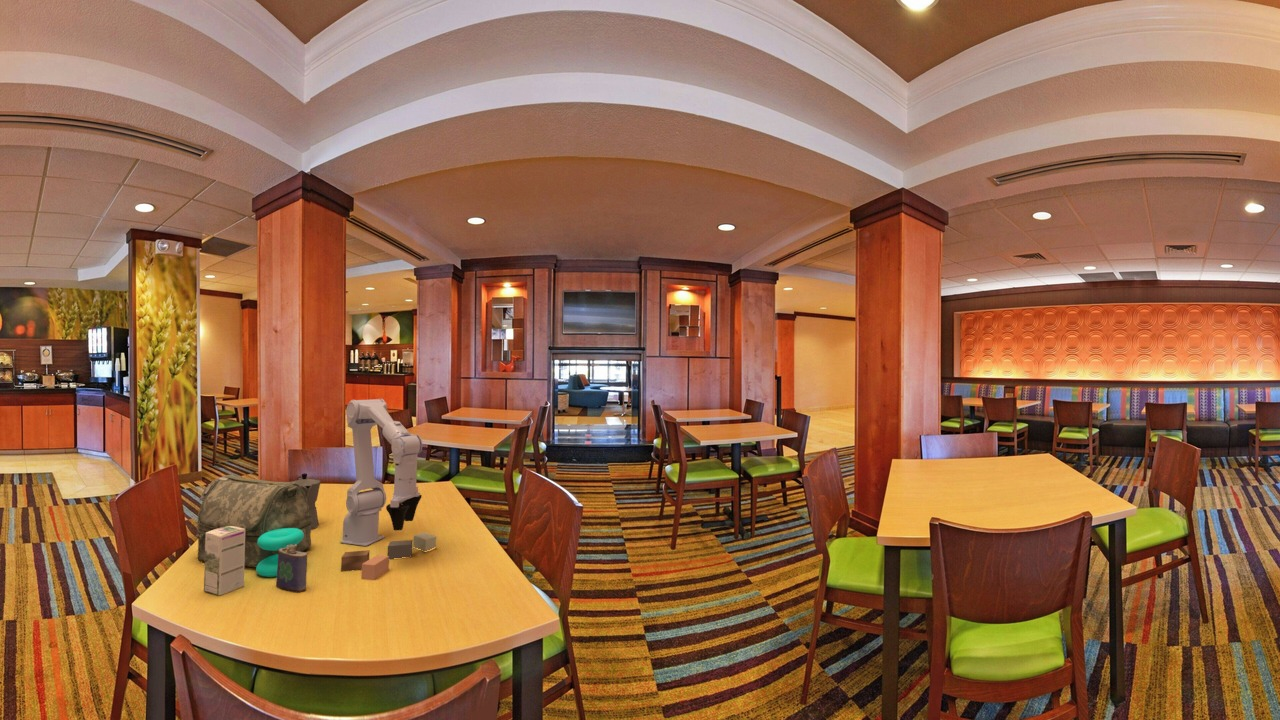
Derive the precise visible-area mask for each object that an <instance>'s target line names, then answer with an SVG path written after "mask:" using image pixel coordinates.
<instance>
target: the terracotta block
mask: <svg viewBox="0 0 1280 720" xmlns="http://www.w3.org/2000/svg"><path fill="white" fill-rule="evenodd" d="M389 565H390V560H389V556H387V555H380V554H376V555H375V556H373V557H371V558H369V560H368V561H366V562H365V563H363V564H362V570H361V575H360V576H361V580H367V581H375V580H376V579H378V578H380V577H381V576H383V575H384V574H386V573H387V572H389V571H390V570H389V569H390V567H389ZM386 571H387V572H386ZM383 573H384V574H383ZM380 575H381V576H380ZM377 577H378V578H377Z"/></svg>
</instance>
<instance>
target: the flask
mask: <svg viewBox="0 0 1280 720" xmlns="http://www.w3.org/2000/svg"><path fill="white" fill-rule="evenodd" d="M296 546H297V545H296V544H295V545H290V546H289V545H287V547H286V548H281V549H279V550H278V567H277V576H276V582H275V587H276V588H278V589H279V590H283V591H287V592H291V593H302V592H304V591H306V589H307V571H308V570H307V569H308V568H307V567H308V566H307V565H308V552H304V551H301V552H299V551H295V549H296V548H295V547H296ZM288 547H289V548H288Z"/></svg>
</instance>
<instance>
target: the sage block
mask: <svg viewBox="0 0 1280 720" xmlns="http://www.w3.org/2000/svg"><path fill="white" fill-rule="evenodd" d="M413 547H415V548H418V549H421V550H423V551H427V550H430V549H432V548H434V547H436V548H437V536H436V535H433V534H430V533H428V532H425V531H423V532H421V533H417V534H414V535H413V540H412V548H413Z"/></svg>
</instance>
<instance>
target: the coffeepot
mask: <svg viewBox="0 0 1280 720" xmlns="http://www.w3.org/2000/svg"><path fill="white" fill-rule="evenodd" d="M291 482H294V483H297V484H299V485H300V486H301V487H302V488H303V490H304V492H305V495H306V498H307V501H308V505H309V511H310V514H311V519H312V523H311V531H312V530H315V529H317V528H318V526H319V525H320V524H319V515H318V511H317V506H316V502H317V500H318V495H319V492H320V491H319V490H320V487H321V480H320V479H314V478H308V474H307V473H302V474H301V476H298V477H297V478H296V480H291Z"/></svg>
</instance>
